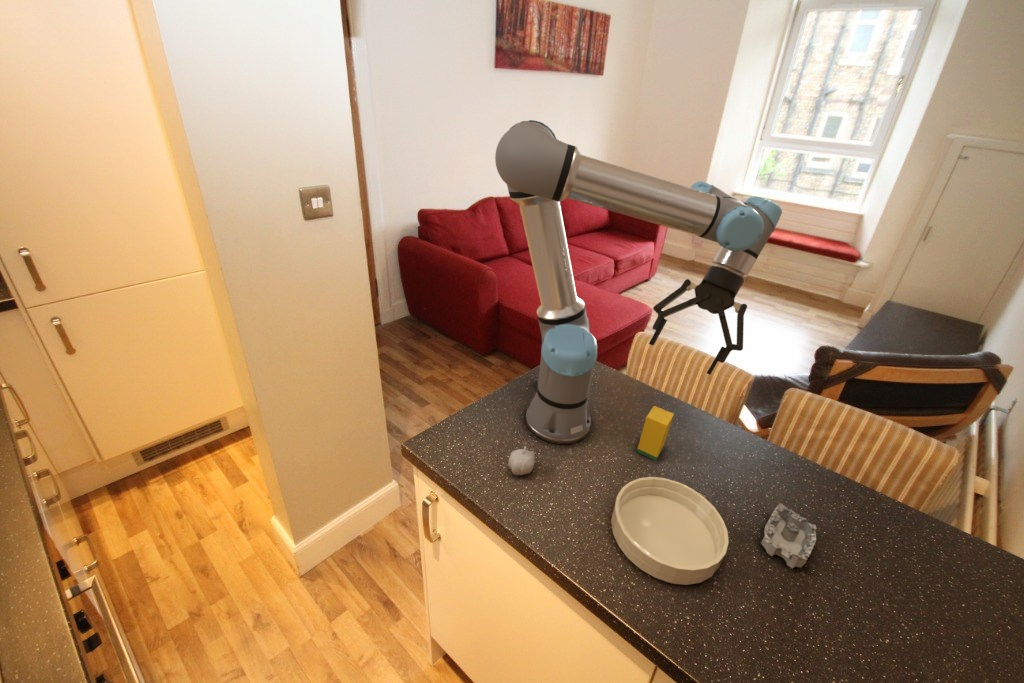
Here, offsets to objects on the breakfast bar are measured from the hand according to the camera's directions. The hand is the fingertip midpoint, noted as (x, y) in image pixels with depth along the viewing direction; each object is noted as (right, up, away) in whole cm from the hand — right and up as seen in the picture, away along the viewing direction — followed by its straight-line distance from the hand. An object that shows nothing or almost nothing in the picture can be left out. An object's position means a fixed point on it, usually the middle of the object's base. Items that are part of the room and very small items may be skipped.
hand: (678, 358), depth 99 cm
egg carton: (+13, -33, -18) cm, 40 cm away
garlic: (-36, -23, -8) cm, 43 cm away
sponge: (-6, -21, 0) cm, 21 cm away
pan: (-10, -31, -19) cm, 38 cm away
